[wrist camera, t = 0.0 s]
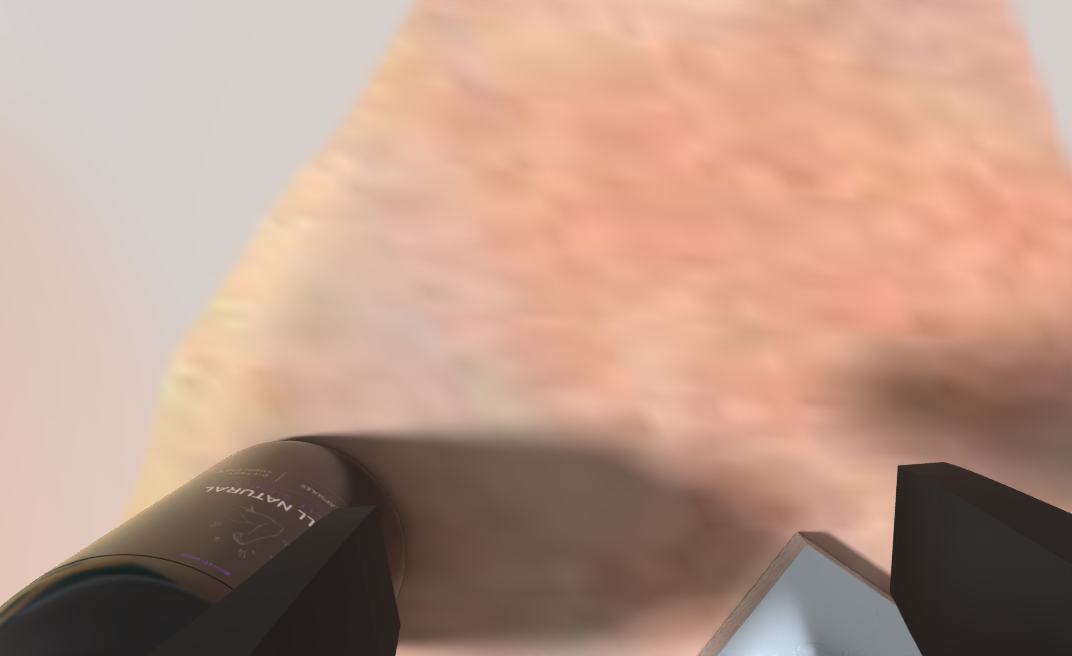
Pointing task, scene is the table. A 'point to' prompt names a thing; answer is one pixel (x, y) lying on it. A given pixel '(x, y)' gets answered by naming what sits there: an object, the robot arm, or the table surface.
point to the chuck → (813, 612)
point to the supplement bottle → (190, 552)
